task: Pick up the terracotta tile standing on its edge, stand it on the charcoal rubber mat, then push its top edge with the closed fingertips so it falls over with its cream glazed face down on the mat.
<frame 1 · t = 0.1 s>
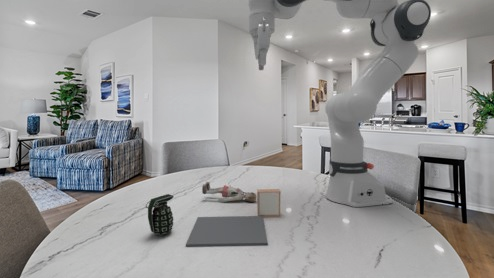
hand: (262, 67, 88), 48 cm above the table, tool pointing down, fingers open, 8 cm apart
grenade: (162, 234, 68), on the table
figurine: (230, 201, 93), on the table
mat: (228, 230, 69), on the table
tile: (268, 215, 79), on the table
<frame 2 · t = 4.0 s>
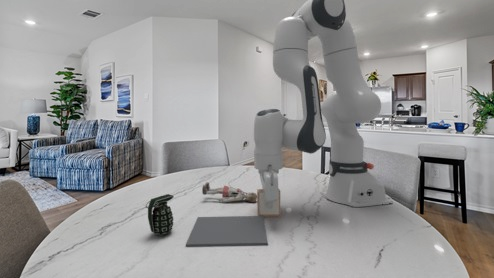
hand: (268, 205, 79), 3 cm above the table, tool pointing down, fingers closed on tile, 3 cm apart
tile: (268, 214, 79), on the table, touching gripper
everything else where it was.
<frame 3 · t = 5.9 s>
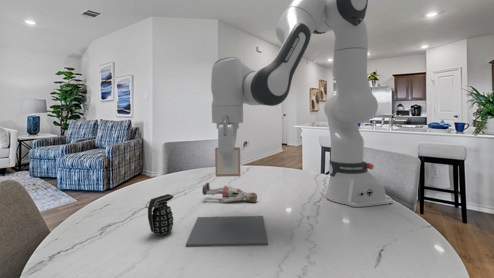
hand: (228, 164, 72), 17 cm above the table, tool pointing down, fingers closed on tile, 3 cm apart
tile: (228, 175, 73), point 14 cm above the table, touching gripper
everything else where it was.
when the fingers open (5 cm above the table, at t = 8.0 s): tile stays where it is, resting on mat.
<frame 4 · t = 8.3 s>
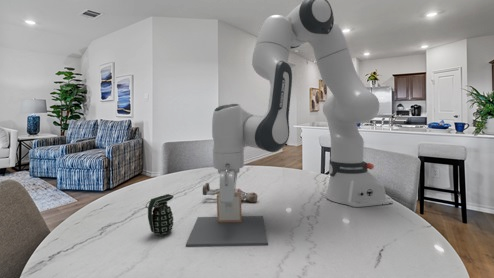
hand: (229, 207, 74), 5 cm above the table, tool pointing down, fingers open, 5 cm apart
tile: (229, 220, 74), point 1 cm above the table, touching mat
everything else where it was.
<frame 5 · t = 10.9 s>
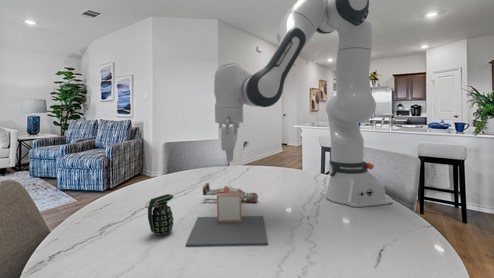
hand: (230, 160, 80), 17 cm above the table, tool pointing down, fingers closed
nothing on the table moved.
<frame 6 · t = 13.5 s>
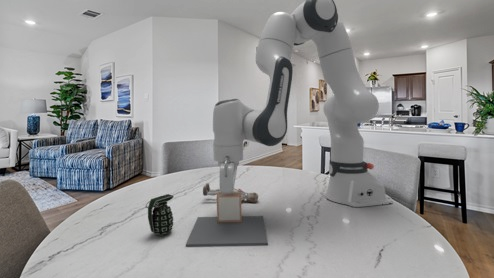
hand: (229, 198, 76), 6 cm above the table, tool pointing down, fingers closed
tile: (229, 220, 74), point 1 cm above the table, touching gripper, mat
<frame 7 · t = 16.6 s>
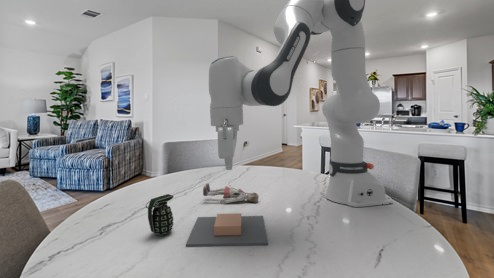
hand: (229, 168, 69), 17 cm above the table, tool pointing down, fingers closed
tile: (229, 217, 73), point 2 cm above the table, tilted 90°, touching mat
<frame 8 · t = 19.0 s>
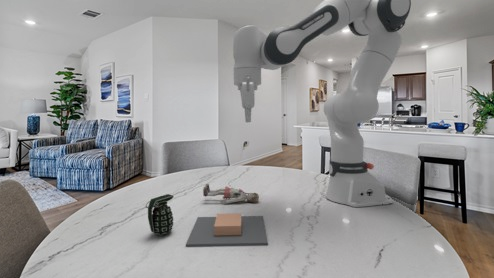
hand: (248, 122, 82), 29 cm above the table, tool pointing down, fingers closed
at the end: tile tilted 90°; tile inside the target area on the mat (3.9 cm from its centre), point 2.0 cm above the mat's base; the gripper is holding nothing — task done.
